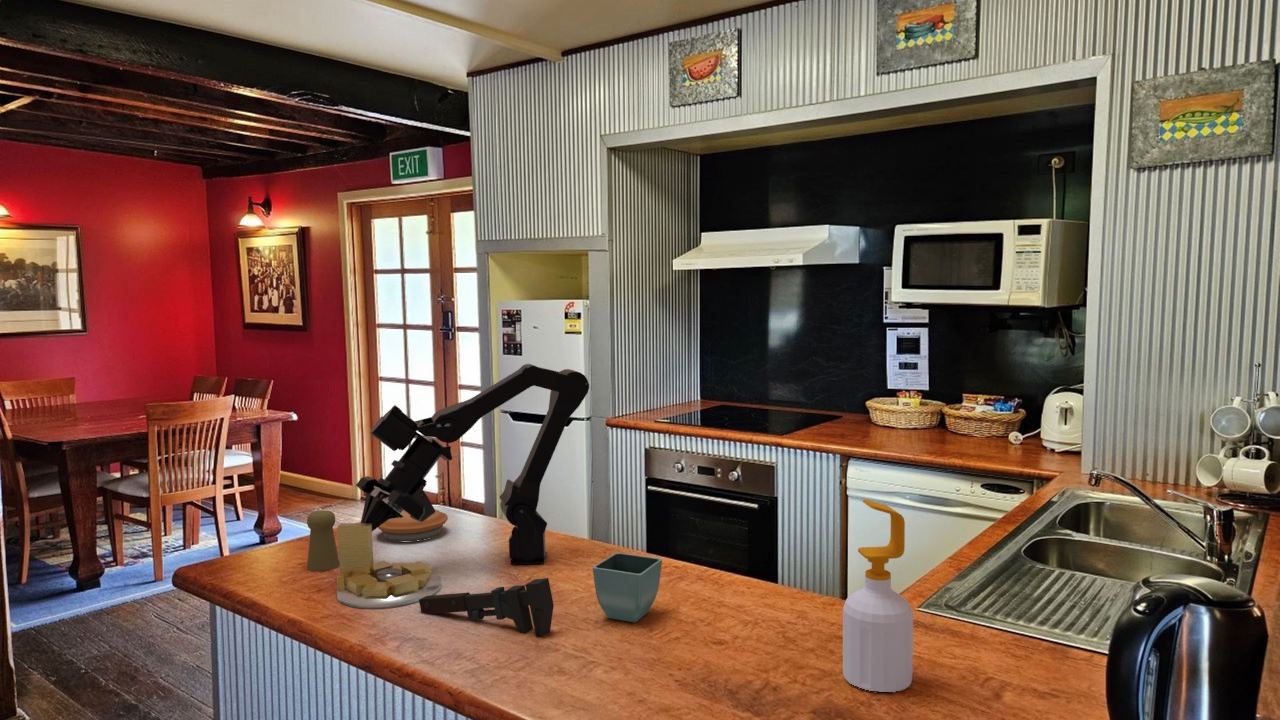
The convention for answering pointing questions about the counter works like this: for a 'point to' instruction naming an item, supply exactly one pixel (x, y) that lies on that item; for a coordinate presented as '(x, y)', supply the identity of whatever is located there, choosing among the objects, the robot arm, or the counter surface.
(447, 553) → the counter surface
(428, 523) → the pie
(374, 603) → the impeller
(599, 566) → the flower pot
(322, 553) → the olive pepper mill
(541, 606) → the adjustable wrench
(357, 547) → the tan block ring
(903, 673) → the soap bottle
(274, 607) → the counter surface
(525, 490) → the robot arm
